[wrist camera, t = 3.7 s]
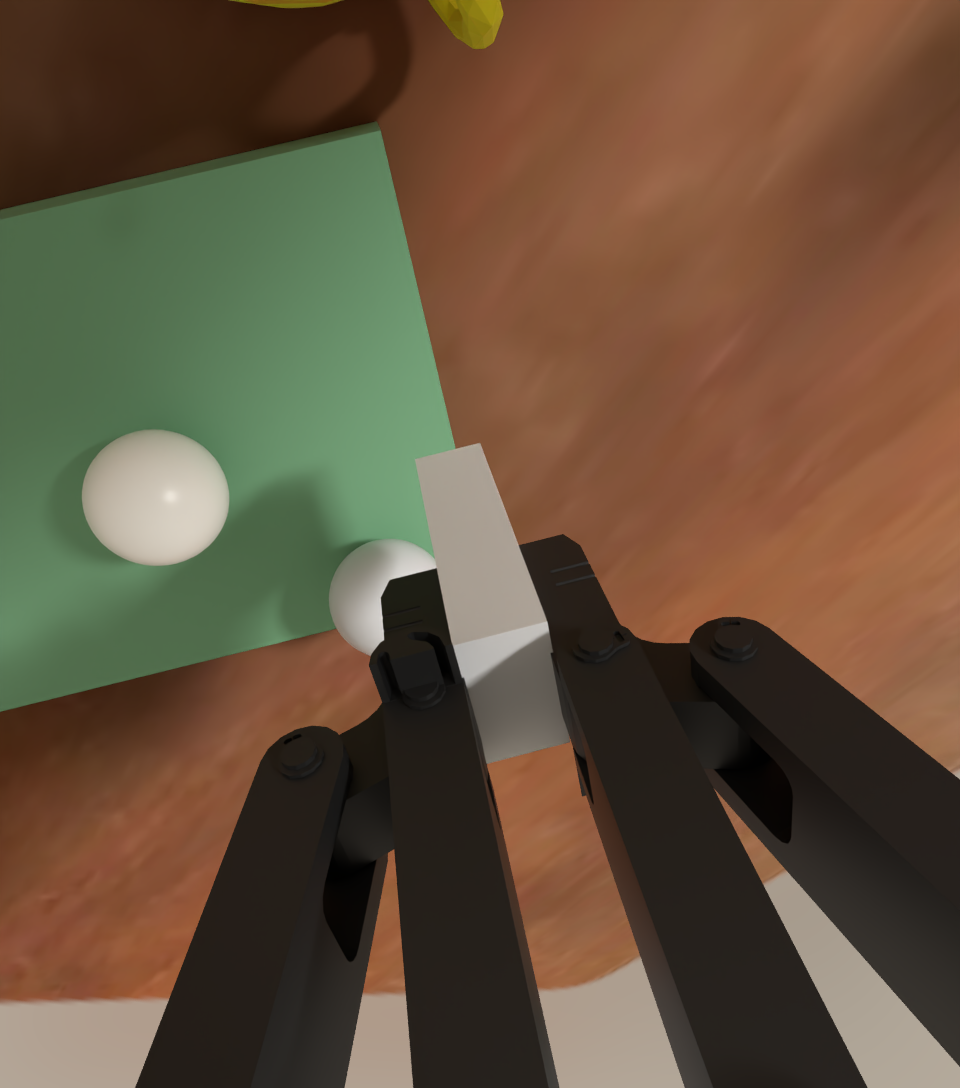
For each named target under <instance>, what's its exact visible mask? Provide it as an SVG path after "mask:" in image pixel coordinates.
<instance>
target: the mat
mask: <svg viewBox="0 0 960 1088" xmlns="http://www.w3.org/2000/svg"><path fill="white" fill-rule="evenodd" d="M150 429H157V430H167V431H172V432H176V433H179V434H182V435H184V436H187V437H189V438H191V439H193V440H194V441H196V442H198V443H199V444H200V445H202V446H203V447H204V448H205V449H207V450H208V451H209V452H210V453H211V454H212V455H213V457H214V458H215V459H216V460H217V462H218V463H219V465H220V467H221V469H222V471H223V473H224V475H225V477H226V480H227V484H228V490H229V509H228V514H227V518H226V521H225V523H224V525H223V528H222V530H221V531H220V533H219V534H218V536H217V537H216V539H215V540H214V541H213V542H212V543H211V544H210V545H209V546H208V547H207V548H206V549H204V550H203V551H202V552H201V553H199V554H198V555H196V556H194V557H192V558H190V559H188V560H186V561H183V562H180V563H177V564H172V565H164V566H150V565H142V564H138V563H134V562H131V561H128V560H126V559H124V558H122V557H120V556H118V555H116V554H115V553H113V552H112V551H110V550H109V549H108V548H107V547H105V546H104V545H103V544H102V543H101V542H100V541H99V540H98V538H97V537H96V536H95V535H94V533H93V532H92V530H91V528H90V526H89V524H88V522H87V520H86V517H85V514H84V510H83V504H82V487H83V482H84V478H85V475H86V473H87V470H88V468H89V466H90V464H91V463H92V461H93V460H94V458H95V457H96V456H97V455H98V453H99V452H100V451H101V450H102V449H103V448H104V447H106V446H107V445H108V444H109V443H111V442H112V441H114V440H116V439H117V438H119V437H121V436H124V435H126V434H129V433H132V432H136V431H141V430H150ZM454 449H455V445H454V440H453V436H452V432H451V428H450V423H449V419H448V415H447V411H446V406H445V402H444V398H443V394H442V389H441V385H440V381H439V377H438V372H437V368H436V364H435V360H434V355H433V351H432V347H431V343H430V338H429V334H428V330H427V325H426V321H425V317H424V313H423V308H422V304H421V300H420V296H419V291H418V287H417V283H416V279H415V274H414V270H413V266H412V262H411V257H410V253H409V249H408V245H407V240H406V236H405V232H404V228H403V223H402V219H401V215H400V211H399V206H398V202H397V198H396V194H395V189H394V185H393V181H392V177H391V172H390V168H389V164H388V160H387V155H386V151H385V147H384V142H383V138H382V134H381V130H380V128H379V125H378V123H377V121H376V122H372V123H367V124H363V125H359V126H355V127H350V128H346V129H342V130H338V131H333V132H329V133H325V134H321V135H316V136H312V137H308V138H304V139H299V140H295V141H291V142H287V143H282V144H278V145H274V146H270V147H265V148H261V149H257V150H253V151H248V152H244V153H240V154H236V155H231V156H227V157H223V158H219V159H214V160H210V161H206V162H202V163H197V164H193V165H189V166H184V167H180V168H176V169H172V170H167V171H163V172H159V173H155V174H150V175H146V176H142V177H138V178H133V179H129V180H125V181H121V182H116V183H112V184H108V185H104V186H99V187H95V188H91V189H87V190H82V191H78V192H74V193H70V194H65V195H61V196H57V197H53V198H48V199H44V200H40V201H36V202H31V203H27V204H23V205H19V206H14V207H10V208H6V209H2V210H0V712H1V711H5V710H9V709H13V708H17V707H21V706H25V705H29V704H33V703H37V702H41V701H45V700H50V699H54V698H58V697H62V696H66V695H70V694H74V693H78V692H82V691H86V690H90V689H94V688H98V687H102V686H106V685H110V684H114V683H118V682H122V681H126V680H130V679H134V678H139V677H143V676H147V675H151V674H155V673H159V672H163V671H167V670H171V669H175V668H179V667H183V666H187V665H191V664H195V663H199V662H203V661H207V660H211V659H215V658H219V657H223V656H228V655H232V654H236V653H240V652H244V651H248V650H252V649H256V648H260V647H264V646H268V645H272V644H276V643H280V642H284V641H288V640H292V639H296V638H300V637H304V636H308V635H312V634H317V633H321V632H325V631H329V630H333V629H337V628H336V626H335V624H334V622H333V619H332V616H331V613H330V607H329V591H330V585H331V582H332V579H333V576H334V574H335V572H336V570H337V568H338V566H339V565H340V564H341V562H342V561H343V560H344V559H345V558H346V557H347V556H348V555H349V554H350V553H351V552H352V551H354V550H355V549H356V548H358V547H360V546H361V545H363V544H366V543H368V542H371V541H374V540H380V539H400V540H404V541H408V542H411V543H413V544H415V545H417V546H419V547H421V548H423V549H424V550H425V551H427V552H428V553H429V554H430V555H431V556H432V557H433V558H434V559H435V557H434V552H433V547H432V542H431V537H430V532H429V527H428V522H427V517H426V512H425V507H424V502H423V497H422V492H421V487H420V482H419V477H418V472H417V467H416V462H415V459H418V458H422V457H426V456H430V455H434V454H438V453H442V452H446V451H450V450H454Z"/></svg>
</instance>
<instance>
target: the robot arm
mask: <svg viewBox="0 0 960 1088" xmlns="http://www.w3.org/2000/svg"><path fill="white" fill-rule="evenodd" d="M415 462H416V467H417V472H418V477H419V482H420V487H421V492H422V497H423V502H424V507H425V512H426V517H427V522H428V527H429V532H430V537H431V542H432V547H433V552H434V557H435V562H436V567H437V568H435V569H431V570H427V571H423V572H419V573H415V574H411V575H407V576H403V577H399V578H395V579H391V580H389V582H388V584H387V586H386V588H385V590H384V592H383V594H382V596H381V608H382V617H383V619H382V620H383V630H384V640H383V641H382V642H380V643H379V645H378V646H377V647H376V649H375V650H374V651H373V653H372V654H371V658H370V663H369V667H370V670H371V673H372V675H373V678H374V681H375V684H376V686H377V689H378V692H379V694H380V697H381V700H382V704H381V705H380V707H379V708H378V709H377V711H375V712H374V713H373V714H372V715H371V716H370V717H369V718H368V719H366V720H365V721H363V722H362V723H360V724H359V725H357V726H355V727H353V728H351V729H350V730H348V731H346V732H344V733H342V734H340V735H338V733H337V732H335V731H333V730H331V729H329V728H328V727H321V726H309V727H305V728H300V729H296V730H294V731H292V732H290V733H288V734H287V735H285V736H283V737H281V738H280V739H279V740H278V741H276V742H275V743H274V744H273V745H272V746H271V747H270V748H269V749H268V750H267V752H266V754H265V755H264V757H263V758H262V760H261V762H260V764H259V767H258V770H257V772H256V775H255V777H254V780H253V783H252V785H251V788H250V790H249V793H248V796H247V798H246V801H245V803H244V806H243V809H242V811H241V814H240V816H239V819H238V822H237V824H236V827H235V829H234V832H233V835H232V837H231V840H230V842H229V845H228V848H227V850H226V853H225V855H224V858H223V861H222V863H221V866H220V868H219V871H218V874H217V876H216V879H215V881H214V884H213V887H212V889H211V892H210V894H209V897H208V900H207V902H206V905H205V907H204V910H203V913H202V915H201V918H200V920H199V923H198V926H197V928H196V931H195V933H194V936H193V939H192V941H191V944H190V946H189V949H188V952H187V954H186V957H185V959H184V962H183V965H182V967H181V970H180V973H179V975H178V978H177V980H176V983H175V986H174V988H173V991H172V993H171V996H170V999H169V1001H168V1004H167V1006H166V1009H165V1012H164V1014H163V1017H162V1020H161V1022H160V1025H159V1027H158V1030H157V1032H156V1035H155V1038H154V1040H153V1043H152V1046H151V1048H150V1051H149V1053H148V1056H147V1058H146V1061H145V1064H144V1066H143V1069H142V1071H141V1074H140V1077H139V1079H138V1082H137V1084H136V1087H135V1088H344V1087H345V1082H346V1076H347V1071H348V1066H349V1061H350V1056H351V1050H352V1045H353V1040H354V1035H355V1030H356V1024H357V1019H358V1014H359V1009H360V1003H361V998H362V993H363V988H364V983H365V977H366V972H367V967H368V962H369V956H370V951H371V946H372V941H373V935H374V930H375V925H376V920H377V915H378V909H379V904H380V899H381V894H382V888H383V883H384V878H385V873H386V867H387V862H388V852H390V851H392V850H393V849H394V850H395V863H396V875H397V888H398V900H399V913H400V926H401V938H402V951H403V963H404V976H405V988H406V1001H407V1013H408V1026H409V1039H410V1050H411V1064H412V1076H413V1088H559V1084H558V1079H557V1075H556V1070H555V1066H554V1061H553V1057H552V1052H551V1048H550V1043H549V1039H548V1034H547V1030H546V1025H545V1020H544V1016H543V1011H542V1007H541V1003H540V998H539V993H538V989H537V984H536V980H535V975H534V971H533V966H532V962H531V957H530V953H529V948H528V944H527V939H526V935H525V930H524V925H523V921H522V916H521V912H520V907H519V903H518V898H517V894H516V889H515V885H514V880H513V876H512V871H511V867H510V862H509V858H508V853H507V849H506V844H505V840H504V835H503V830H502V826H501V821H500V817H499V812H498V808H497V803H496V799H495V794H494V790H493V786H492V783H491V779H490V775H489V772H488V768H487V764H488V763H492V762H495V761H499V760H503V759H507V758H511V757H515V756H518V755H522V754H526V753H530V752H534V751H538V750H541V749H545V748H549V747H553V746H557V745H561V744H564V743H568V742H570V740H569V736H570V739H571V742H572V745H573V750H574V755H575V761H576V766H577V771H578V777H579V782H580V788H581V793H582V796H585V795H586V796H587V799H588V802H589V805H590V808H591V811H592V814H593V817H594V820H595V823H596V826H597V829H598V832H599V835H600V838H601V840H602V843H603V846H604V849H605V852H606V855H607V858H608V861H609V864H610V867H611V870H612V873H613V876H614V879H615V882H616V885H617V888H618V891H619V894H620V897H621V900H622V903H623V906H624V909H625V912H626V915H627V918H628V921H629V923H630V926H631V929H632V932H633V935H634V938H635V941H636V944H637V947H638V950H639V953H640V956H641V959H642V962H643V965H644V968H645V971H646V974H647V977H648V980H649V983H650V985H651V989H652V992H653V994H654V997H655V1000H656V1003H657V1006H658V1009H659V1012H660V1015H661V1018H662V1021H663V1024H664V1027H665V1030H666V1033H667V1036H668V1039H669V1042H670V1045H671V1048H672V1051H673V1054H674V1057H675V1060H676V1063H677V1066H678V1069H679V1072H680V1074H681V1077H682V1081H683V1083H684V1086H685V1088H867V1086H866V1084H865V1082H864V1080H863V1078H862V1076H861V1074H860V1072H859V1070H858V1068H857V1066H856V1064H855V1062H854V1061H853V1059H852V1057H851V1055H850V1053H849V1051H848V1049H847V1047H846V1045H845V1043H844V1041H843V1039H842V1037H841V1035H840V1033H839V1032H838V1029H837V1028H836V1026H835V1024H834V1022H833V1020H832V1018H831V1016H830V1014H829V1012H828V1010H827V1008H826V1006H825V1004H824V1002H823V1001H822V998H821V997H820V994H819V993H818V991H817V989H816V987H815V985H814V983H813V981H812V979H811V977H810V975H809V973H808V971H807V969H806V967H805V965H804V963H803V961H802V959H801V957H800V956H799V954H798V952H797V950H796V948H795V946H794V944H793V942H792V940H791V938H790V936H789V934H788V932H787V930H786V928H785V926H784V924H783V923H782V921H781V919H780V917H779V915H778V913H777V911H776V909H775V907H774V905H773V903H772V901H771V899H770V897H769V895H768V893H767V891H766V889H765V887H764V885H763V884H762V882H761V880H760V878H759V876H758V874H757V872H756V870H755V868H754V866H753V864H752V862H751V860H750V858H749V856H748V854H747V852H746V850H745V849H744V847H743V845H742V843H741V841H740V839H739V837H738V835H737V833H736V831H735V829H734V827H733V825H732V823H731V821H730V819H729V817H728V815H727V814H726V812H725V810H724V808H723V806H722V804H721V802H720V800H719V798H718V796H717V794H716V792H715V790H716V791H717V792H718V793H719V794H720V796H721V797H722V798H723V799H724V800H725V801H726V802H727V803H728V805H729V806H730V807H731V808H732V809H733V810H734V811H735V813H736V814H737V815H738V816H739V817H740V818H741V819H742V820H743V822H744V823H745V824H746V825H747V826H748V827H749V828H750V830H751V831H752V832H753V833H754V834H755V835H756V836H757V837H758V839H759V840H760V841H761V842H762V843H763V844H764V845H765V847H766V848H767V849H768V850H769V851H770V852H771V853H772V854H773V856H774V857H775V858H776V859H777V860H778V861H779V862H780V864H781V865H782V866H783V867H784V868H785V869H786V870H787V871H788V873H789V874H790V875H791V876H792V877H793V878H794V879H795V881H796V882H797V883H798V884H799V885H800V886H801V887H802V888H803V889H804V891H805V892H806V893H807V894H808V895H809V896H810V897H811V899H812V900H813V901H814V902H815V903H816V904H817V905H818V906H819V908H820V909H821V910H822V911H823V912H824V913H825V914H826V916H827V917H828V918H829V919H830V920H831V921H832V922H833V923H834V925H835V926H836V927H837V928H838V929H839V930H840V931H841V933H842V934H843V935H844V936H845V937H846V938H847V939H848V940H849V942H850V943H851V944H852V945H853V946H854V947H855V948H856V950H857V951H858V952H859V953H860V954H861V955H862V956H863V957H864V959H865V960H866V961H867V962H868V963H869V964H870V965H871V967H872V968H873V969H874V970H875V971H876V972H877V973H878V975H879V976H881V978H882V979H883V980H884V981H885V982H886V984H887V985H888V986H889V987H890V988H891V989H892V990H893V992H894V993H895V994H896V995H897V996H898V997H899V998H900V999H901V1000H902V1002H903V1003H904V1004H905V1005H906V1006H907V1007H908V1008H909V1010H910V1011H911V1012H912V1013H913V1014H914V1015H915V1016H916V1017H917V1019H918V1020H919V1021H920V1022H921V1023H922V1024H923V1026H924V1027H925V1028H926V1029H927V1030H928V1031H929V1032H930V1033H931V1035H932V1036H933V1037H934V1038H935V1039H936V1040H937V1041H938V1042H939V1043H940V1045H941V1046H942V1047H943V1048H944V1049H945V1050H946V1052H947V1053H948V1054H949V1055H950V1056H951V1057H952V1058H953V1060H954V1061H955V1062H956V1063H957V1064H958V1065H959V1066H960V779H958V778H957V777H956V776H955V775H953V774H952V773H951V772H950V771H948V770H947V769H946V768H945V767H943V766H942V765H941V764H940V763H938V762H937V761H936V760H935V759H933V758H932V757H931V756H930V755H928V754H927V753H926V752H924V751H923V750H922V749H921V748H919V747H918V746H917V745H916V744H914V743H913V742H912V741H911V740H909V739H908V738H907V737H906V736H904V735H903V734H902V733H901V732H899V731H898V730H897V729H896V728H894V727H893V726H892V725H890V724H889V723H888V722H887V721H885V720H884V719H883V718H882V717H880V716H879V715H878V714H877V713H875V712H874V711H873V710H872V709H870V708H869V707H868V706H867V705H865V704H864V703H863V702H862V701H860V700H859V699H858V698H856V697H855V696H854V695H853V694H851V693H850V692H849V691H848V690H846V689H845V688H844V687H843V686H841V685H840V684H839V683H838V682H836V681H835V680H834V679H833V678H831V677H830V676H829V675H828V674H826V673H825V672H824V671H822V670H821V669H820V668H819V667H817V666H816V665H815V664H814V663H812V662H811V661H810V660H809V659H807V658H806V657H805V656H804V655H802V654H801V653H800V652H799V651H797V650H796V649H795V648H793V647H792V646H791V645H790V644H788V643H787V642H786V641H785V640H783V639H782V638H781V637H780V636H778V635H777V634H776V633H775V632H773V631H772V630H771V629H770V628H768V627H766V626H764V625H762V624H761V623H759V622H757V621H755V620H750V619H746V618H741V617H722V618H718V619H715V620H711V621H708V622H706V623H705V624H703V625H702V626H700V627H699V628H697V629H696V630H695V631H694V633H693V635H692V637H691V638H690V643H654V642H649V641H645V640H641V639H639V638H637V637H635V636H634V635H633V634H632V632H631V631H630V630H629V629H628V628H626V627H623V626H621V625H620V623H619V622H618V620H617V618H616V616H615V614H614V612H613V610H612V608H611V606H610V604H609V602H608V600H607V598H606V596H605V594H604V592H603V590H602V588H601V586H600V584H599V582H598V580H597V578H596V577H595V574H594V572H593V570H592V568H591V566H590V564H589V563H588V560H587V558H586V556H585V554H584V552H583V550H582V548H581V546H580V545H579V544H577V543H576V542H574V541H573V540H571V539H570V538H568V537H567V536H565V535H563V534H562V535H558V536H554V537H550V538H546V539H542V540H538V541H534V542H530V543H526V544H522V545H518V543H517V540H516V537H515V535H514V532H513V529H512V527H511V524H510V521H509V519H508V516H507V513H506V511H505V508H504V505H503V503H502V500H501V497H500V495H499V492H498V490H497V487H496V484H495V482H494V479H493V476H492V474H491V471H490V468H489V466H488V463H487V460H486V458H485V455H484V452H483V450H482V447H481V444H480V443H478V444H474V445H470V446H466V447H462V448H458V449H454V450H450V451H446V452H442V453H438V454H434V455H430V456H426V457H422V458H418V459H415ZM568 733H569V734H568ZM714 789H715V790H714Z"/></svg>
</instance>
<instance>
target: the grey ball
mask: <svg viewBox="0 0 960 1088" xmlns="http://www.w3.org/2000/svg"><path fill="white" fill-rule="evenodd" d="M435 568H437V567H436V562H435V559H434V558H433V557H432V556H431V555H430V554H429V553H428V552H427V551H425V550H424V549H423V548H421V547H419V546H417V545H415V544H413V543H411V542H408V541H404V540H400V539H380V540H374V541H371V542H368V543H366V544H363V545H361V546H360V547H358V548H356V549H355V550H354V551H352V552H351V553H350V554H349V555H348V556H347V557H346V558H345V559H344V560H343V561H342V562H341V564H340V565H339V566H338V568H337V570H336V572H335V574H334V576H333V579H332V582H331V585H330V591H329V607H330V613H331V616H332V619H333V622H334V624H335V626H336V628H337V630H338V631H339V633H340V634H341V636H342V637H343V638H344V639H345V640H346V641H347V642H348V643H349V644H350V645H351V646H353V647H354V648H355V649H357V650H359V651H361V652H363V653H365V654H367V655H370V656H371V654H372V653H373V651H374V650H375V649H376V647H377V646H378V645H379V643H380V642H382V641H383V640H384V630H383V620H382V619H383V617H382V608H381V596H382V594H383V592H384V590H385V588H386V586H387V584H388V582H389V580H391V579H395V578H399V577H403V576H407V575H411V574H415V573H419V572H423V571H427V570H431V569H435Z"/></svg>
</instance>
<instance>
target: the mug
mask: <svg viewBox="0 0 960 1088" xmlns="http://www.w3.org/2000/svg"><path fill="white" fill-rule="evenodd" d="M230 1H237V2H244V3H251V4H258V5H265V6H272V7H279V8H305V7H318V6H325V5H328V4H332V3H336V2H340V1H343V0H230ZM428 1H429V2H430V4H431V5H432V7H433V8H434V10H435V11H436V12H437V14H438V15H439V16H440V18H441V19H442V20H443V21H444V23H445V24H446V25H447V27H448V28H449V29H450V31H451V32H452V33H453V34H454V36H455V37H456V38H458V39H459V40H461V41H462V42H464V43H465V44H467V45H469V46H470V47H472V48H473V49H485V48H486V47H488V46H489V45H491V44H492V43H494V40H495V37H496V35H497V32H498V29H499V26H500V23H501V20H502V17H503V10H502V6H501V1H500V0H428Z"/></svg>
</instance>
